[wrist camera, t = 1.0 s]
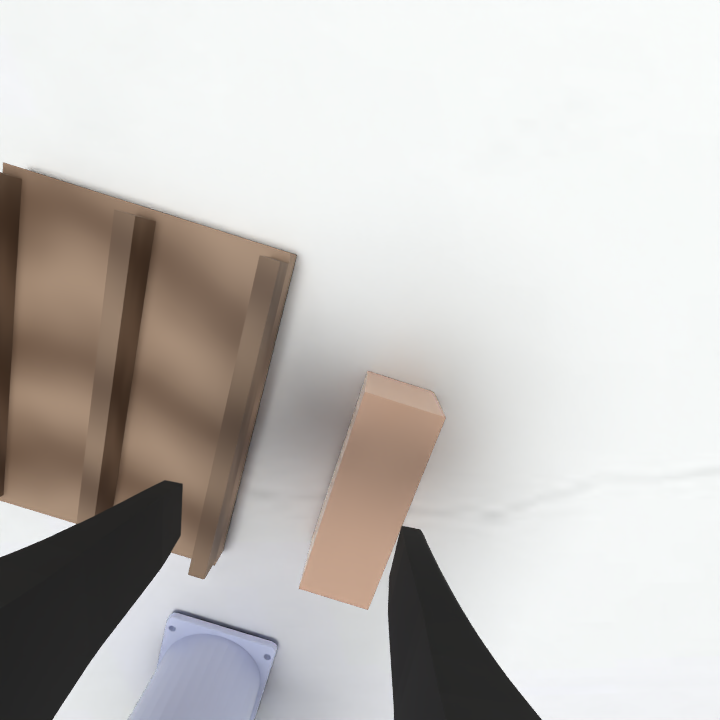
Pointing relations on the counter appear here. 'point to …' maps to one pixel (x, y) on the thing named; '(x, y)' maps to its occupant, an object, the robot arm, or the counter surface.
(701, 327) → the counter surface
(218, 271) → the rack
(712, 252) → the counter surface
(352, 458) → the peach rectangular block
